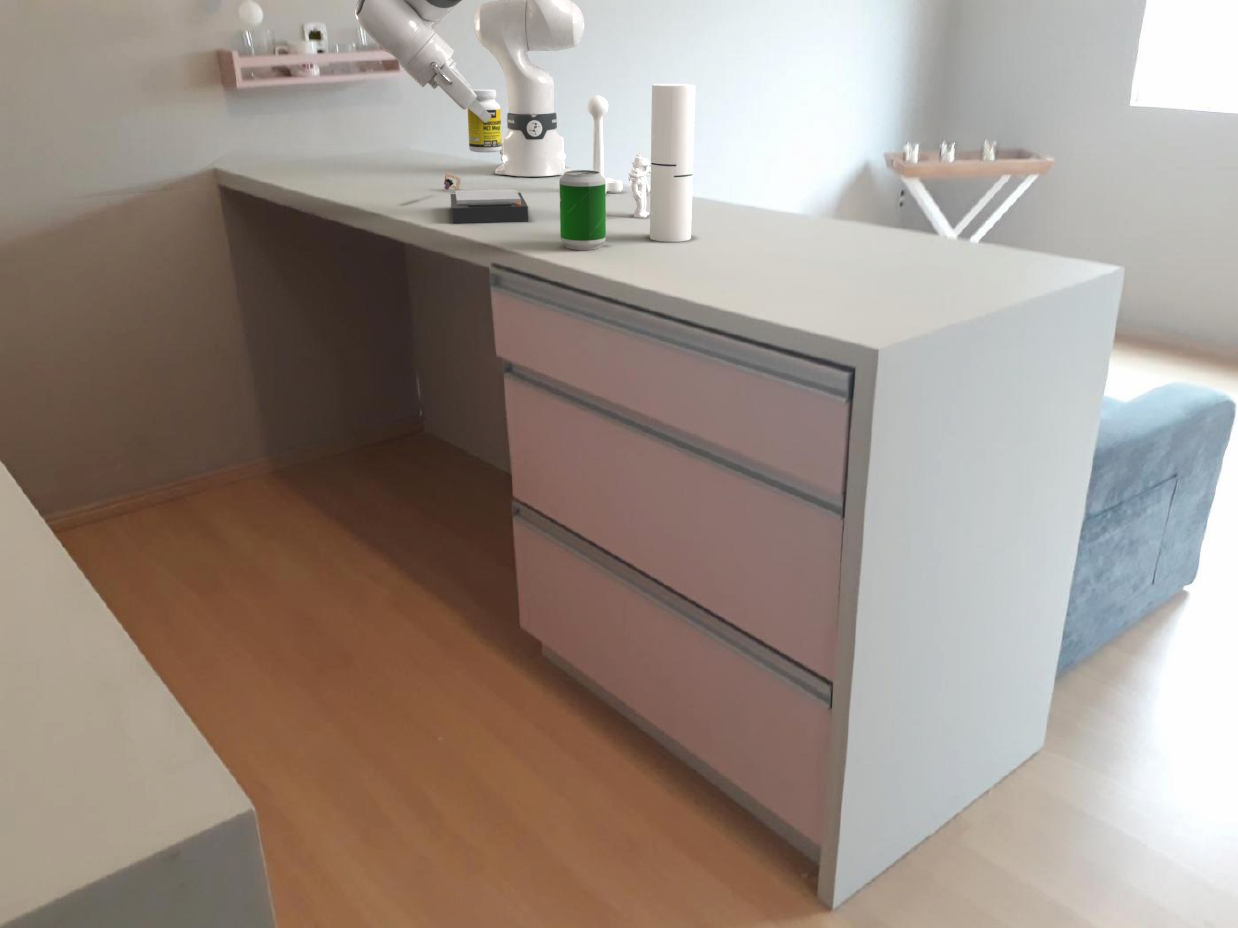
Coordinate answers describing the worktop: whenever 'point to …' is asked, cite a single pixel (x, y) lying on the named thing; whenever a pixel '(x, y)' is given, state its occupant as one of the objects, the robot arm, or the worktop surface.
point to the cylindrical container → (671, 161)
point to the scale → (488, 206)
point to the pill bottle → (485, 124)
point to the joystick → (601, 141)
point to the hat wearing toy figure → (640, 185)
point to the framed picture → (450, 182)
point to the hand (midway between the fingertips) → (487, 118)
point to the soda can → (582, 209)
